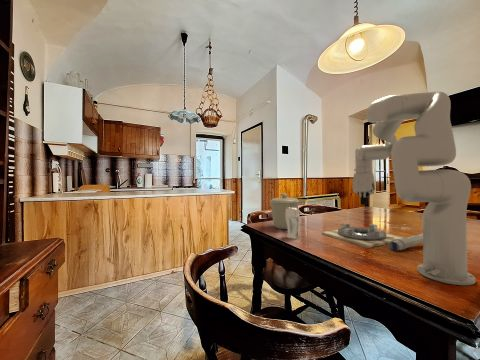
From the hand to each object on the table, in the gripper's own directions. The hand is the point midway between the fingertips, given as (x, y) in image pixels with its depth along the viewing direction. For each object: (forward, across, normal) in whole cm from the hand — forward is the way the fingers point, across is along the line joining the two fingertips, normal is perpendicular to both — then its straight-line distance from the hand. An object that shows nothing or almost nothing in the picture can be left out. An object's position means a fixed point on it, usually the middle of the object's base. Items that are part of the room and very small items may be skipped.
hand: (364, 204), depth 115 cm
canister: (+15, -30, -30) cm, 45 cm away
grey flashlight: (+15, +26, -4) cm, 30 cm away
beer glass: (+15, -10, -39) cm, 43 cm away
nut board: (+15, +5, -9) cm, 18 cm away
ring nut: (+13, +5, -9) cm, 17 cm away
